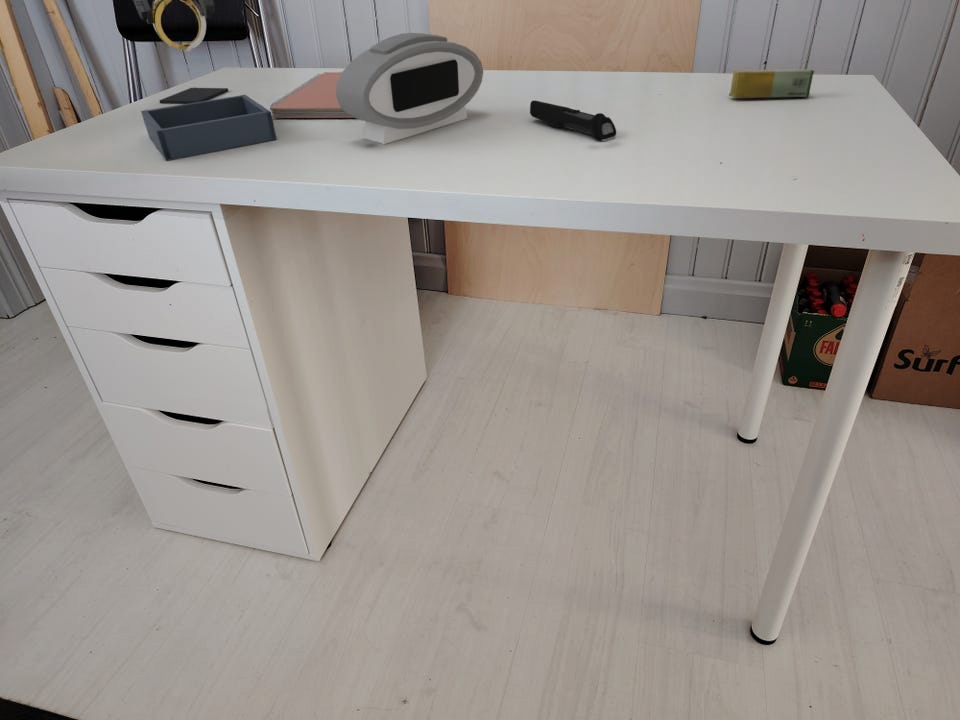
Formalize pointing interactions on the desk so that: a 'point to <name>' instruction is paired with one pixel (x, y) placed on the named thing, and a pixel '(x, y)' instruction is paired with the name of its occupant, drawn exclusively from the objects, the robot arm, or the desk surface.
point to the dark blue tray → (208, 126)
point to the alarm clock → (409, 85)
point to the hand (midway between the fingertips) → (180, 16)
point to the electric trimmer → (574, 120)
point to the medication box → (771, 83)
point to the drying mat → (194, 95)
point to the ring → (157, 8)
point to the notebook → (311, 100)
